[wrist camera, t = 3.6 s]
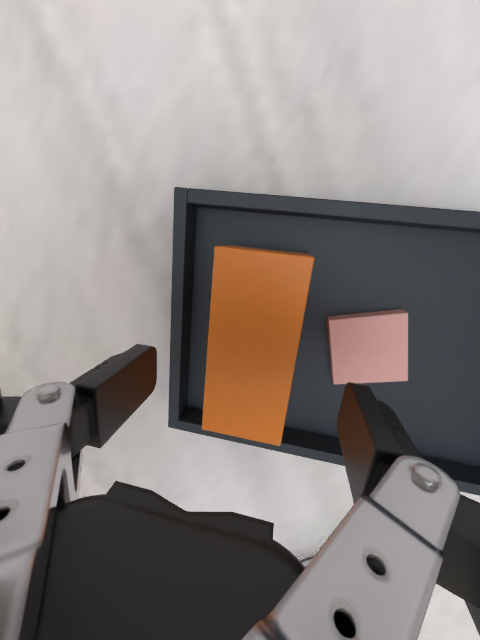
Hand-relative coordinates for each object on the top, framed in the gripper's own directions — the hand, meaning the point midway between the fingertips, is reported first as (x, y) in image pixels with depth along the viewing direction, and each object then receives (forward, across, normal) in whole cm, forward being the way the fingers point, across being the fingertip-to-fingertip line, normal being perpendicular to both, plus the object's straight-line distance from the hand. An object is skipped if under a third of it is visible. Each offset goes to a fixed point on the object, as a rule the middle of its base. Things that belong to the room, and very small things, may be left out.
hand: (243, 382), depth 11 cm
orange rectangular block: (+8, 0, 0) cm, 8 cm away
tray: (+8, -6, 0) cm, 10 cm away
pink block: (+8, -7, 0) cm, 10 cm away
